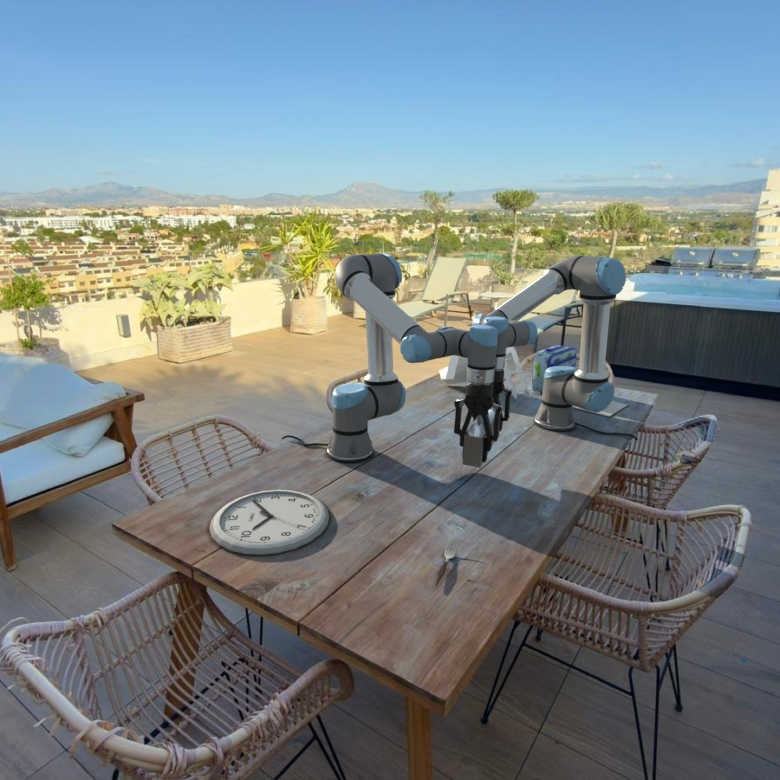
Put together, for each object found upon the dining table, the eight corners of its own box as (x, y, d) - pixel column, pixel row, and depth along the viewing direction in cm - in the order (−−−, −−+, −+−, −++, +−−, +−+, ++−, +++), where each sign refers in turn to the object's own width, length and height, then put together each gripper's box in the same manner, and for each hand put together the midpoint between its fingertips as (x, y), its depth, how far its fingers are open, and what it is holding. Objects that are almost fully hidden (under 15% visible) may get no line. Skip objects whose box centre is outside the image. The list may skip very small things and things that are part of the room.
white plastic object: (461, 429, 252) (437, 405, 227) (444, 352, 274) (420, 323, 250) (535, 404, 240) (518, 377, 215) (510, 326, 262) (492, 293, 237)
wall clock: (327, 546, 121) (194, 551, 119) (327, 552, 122) (195, 557, 119) (330, 485, 150) (223, 488, 147) (330, 490, 150) (224, 493, 148)
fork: (429, 586, 111) (429, 578, 110) (447, 545, 125) (448, 538, 125) (441, 589, 110) (441, 581, 109) (458, 548, 124) (459, 541, 124)
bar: (481, 434, 171) (482, 408, 168) (496, 437, 169) (499, 410, 166) (462, 464, 149) (464, 435, 147) (480, 467, 148) (482, 437, 145)
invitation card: (608, 416, 214) (573, 407, 224) (608, 416, 214) (573, 408, 224) (628, 404, 229) (594, 396, 238) (628, 405, 229) (594, 397, 238)
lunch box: (548, 398, 236) (553, 353, 229) (527, 393, 243) (531, 349, 237) (575, 387, 253) (581, 344, 247) (555, 382, 260) (560, 341, 254)
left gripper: (444, 381, 145) (440, 458, 152) (511, 389, 138) (503, 469, 145) (451, 374, 151) (447, 448, 158) (515, 382, 145) (508, 459, 152)
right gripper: (459, 367, 159) (455, 438, 166) (520, 374, 153) (513, 447, 160) (465, 362, 166) (461, 430, 173) (524, 368, 160) (517, 438, 167)
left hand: (474, 458), depth 152 cm, fingers closed on bar, 5 cm apart
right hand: (486, 438), depth 166 cm, fingers closed on bar, 5 cm apart
